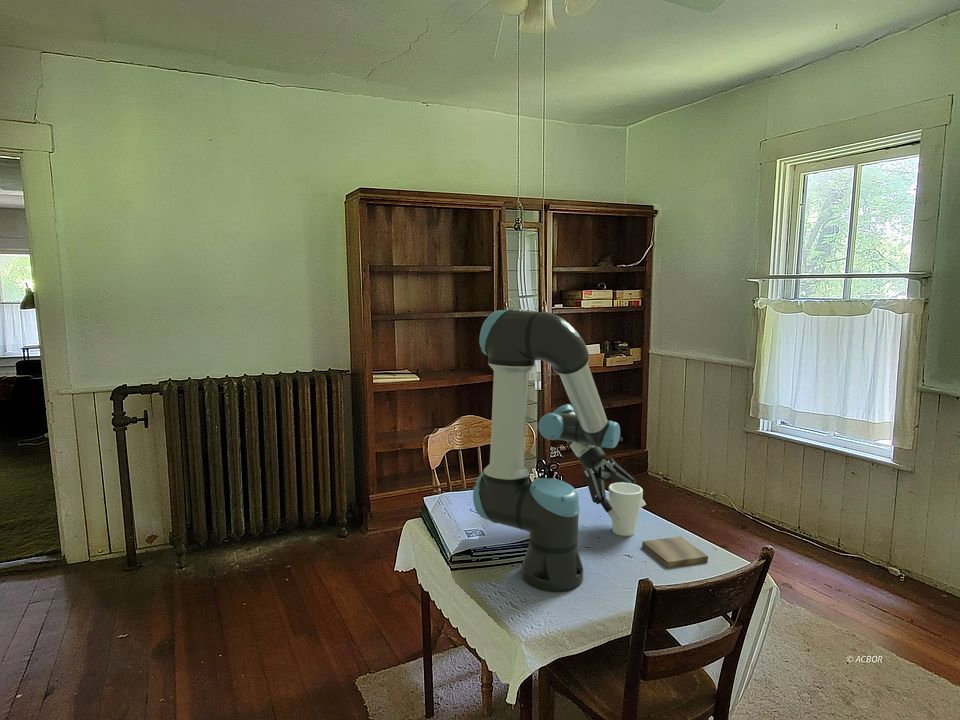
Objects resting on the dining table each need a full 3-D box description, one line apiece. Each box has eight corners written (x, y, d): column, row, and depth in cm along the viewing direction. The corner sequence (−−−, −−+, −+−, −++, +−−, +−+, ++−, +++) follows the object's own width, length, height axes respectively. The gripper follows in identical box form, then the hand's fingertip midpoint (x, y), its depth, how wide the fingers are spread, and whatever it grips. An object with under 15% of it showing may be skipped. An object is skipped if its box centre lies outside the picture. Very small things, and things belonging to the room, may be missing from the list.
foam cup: (643, 538, 169) (646, 494, 167) (610, 538, 169) (612, 494, 167) (635, 524, 178) (638, 482, 176) (604, 523, 178) (606, 482, 176)
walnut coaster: (667, 567, 153) (667, 562, 153) (642, 546, 164) (642, 541, 164) (707, 561, 156) (708, 556, 156) (680, 541, 168) (680, 536, 167)
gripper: (602, 449, 191) (643, 507, 183) (555, 467, 173) (598, 533, 165) (618, 436, 186) (660, 495, 178) (571, 454, 168) (616, 520, 160)
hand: (630, 513), depth 172 cm, fingers open, 13 cm apart
